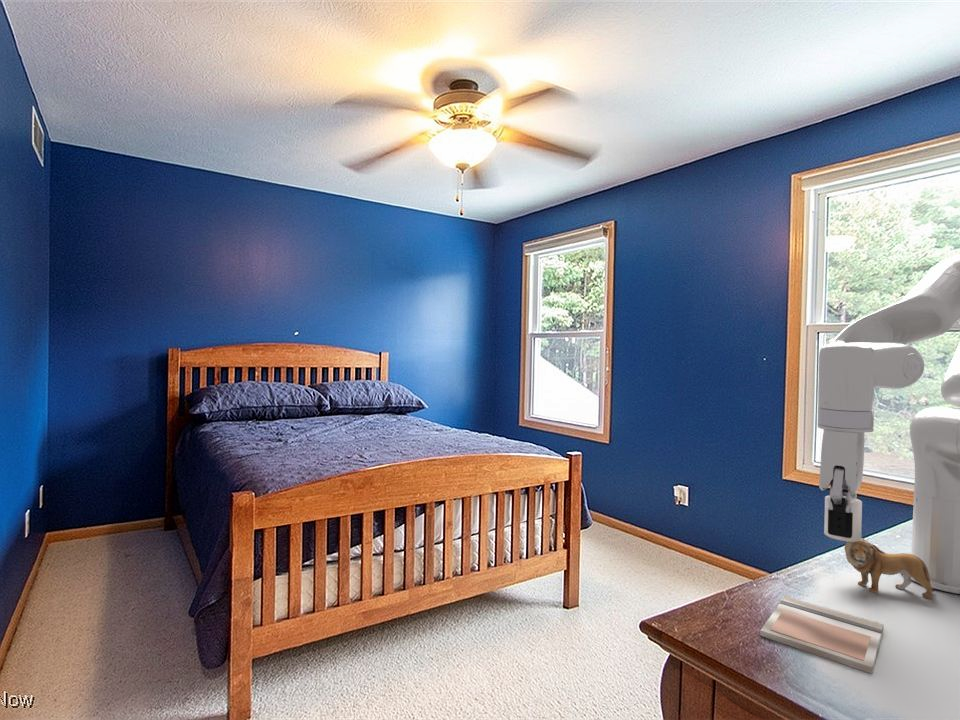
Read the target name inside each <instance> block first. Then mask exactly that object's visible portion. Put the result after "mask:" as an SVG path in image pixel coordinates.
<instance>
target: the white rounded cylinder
mask: <svg viewBox="0 0 960 720" xmlns="http://www.w3.org/2000/svg"><path fill="white" fill-rule="evenodd" d="M846 497H847V496H843V498H845V500H846ZM829 501H830V494H829V495H825V496H824V521H823V522H824V526H823V527H824V529H823V530H824V532H823V534H824V535H825V536H826V537H828V538H830V539H833V540H838V541H843V542H847V541H849V542H857V541H860V540H861V538H862V523H863V521H862V518H863V514H862V513H863V501H862V500H860V499H858V498H857V499H855V498H852V497H851V511H850V512H851V513H853V524H852V537H851V538H845V537H840V536H835V535H830V534H829V533H828V509H829Z"/></svg>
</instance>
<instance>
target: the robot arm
mask: <svg viewBox="0 0 960 720" xmlns="http://www.w3.org/2000/svg"><path fill="white" fill-rule="evenodd" d="M957 322H958V324H959V325H960V255H955V256H952V257H948V258H945V259H943V260H941V261H939V262H938V263H936V265H934V266H933V267H932V268H931V269H930V270H929V271H928V272H927V273H926V274H925V275H924V276H923V277H922V278H921V280H919V281H918V283H917V284H916V285H915V286H914V287H913V288H912V289H911V290H910V291H909V292H908V293H907V294H906V295H905V296H904V297H903V298H902V299H901V300H899V301H897V302H894V303H892V304H889V305H887V306H884V307H883V308H881V309H879V310H877V311H874V312H873V313H870V314H868V315H865V316H863V317H862V318H859V319H858V320H856V321H854V322H852V323H851V324H849V325H848V326H847V327H845V328H844V329H843V330H842V331H841V332H840V333H838V334H837V336H835V338H833V340H832V341H831V342H830V343H829V344H826V345H824V346H822V347H821V348H820V349H819V353H818V354H819V355H818V384H817V385H818V388H817V389H818V393H817V428H818V429H822V430H823V433H822V439H821V440H822V441H821V451H820V468H819V482H818V483H819V484H818V486H819V489H820V490H821V491H826V489H828V488H829V495H830V501H829V509H828V533H829V534H830V535H835V536H840V537H845V538H851V537H852V524H853V513H851V512H850V511H851V497H852V498H855V499H858V498H857V497H858V496H857V495H858V493H857V492H858V490H859V489H860V487H861V485H862V482H863V475H864V464H865V463H864V461H865V434H866V433H873V432H874V429H875V428H874V427H875V426H874V425H875V423H874V421H875V416H874V415H875V388H876V389H889V390H890V389H891V390H892V389H893V390H894V389H895V390H897V389H898V390H899V389H904V388H905V389H906V388H907V387H911V386H912V385H914V384H915V383H917V382H918V381H919V380H920V379H921V378H922V376H923V374H924V370H925V361H924V357H923V355H922V354H921V353H920V352H919V350H918V349H916V348H915V347H913V346H912V345H909V344H913V343H917V342H922V341H925V340H929V339H933V338H936V337H939V336H942V335H944V334H945V333H947V332H949V331H950V330H951V329H952V328H953V327H954V326H955V324H956V323H957ZM940 385H941V386H940V394H941V397H942V398H943V400H944V401H945V402H947V403H948V404H950V405H952V406H953V407H951V406H933V407H927V408H924V409H922V410H920V411H918V412H917V413H916V414H915V415H914V416H913V417H912V419H911V421H910V425H909V436H910V443H911V447H912V454H913V462H914V487H913V488H914V489H913V491H914V492H913V510H912V530H911V553H910V554H912V555H915V556H917V557H919V558H920V559H921V560H922V561H923V562H924V563H925V565H926V567H927V569H928V572H929V577H930V584H931V587H932V588H933V589H934V590H935V589H936V590H939V591H943V592H947V593H952V594H958V595H960V341H959V342H958V345H957V347H956V350H955V352H954V354H953V357H952V359H951V361H950V363H949V364H948V368H947V370H946V372H945V374H944V376H943V379H942V382H941V384H940ZM843 496H847V497H846V500H845V498H843ZM900 574H902V572H901V573H900ZM924 576H925V575H924ZM911 581H913V582H916V583H917V584H919V583H918V582H917V581H915V580H914V579H913V578H912V577H911Z"/></svg>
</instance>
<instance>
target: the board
mask: <svg viewBox="0 0 960 720" xmlns="http://www.w3.org/2000/svg"><path fill="white" fill-rule="evenodd" d="M884 626H885V625H884V623H880V622H876V621H874V620H869V619H866V618H863V617H859V616H856V615H853V614H849V613H845V612H843V611H839V610H835V609H831V608H829V607H826V606H821V605H818V604H815V603H810V602H808V601H804V600H801V599H797V598H793V597H790V596H786V595H784V597H783V598H782V599H781V600H780V602H779V604H778V605H777V607H776V608H775V609H774V611H773V612H772V613H771V615H770V616H769V618H767V620H766V622H765V623H764V624H763V626H762V628H761V629H760V630H759V631H760V633H759V634H760V636H761V637H763V638H766V639H769V640H772V641H775V642H778V643H780V644H784V645H786V646H790V647H793V648H795V649H799V650H802V651H805V652H807V653H810V654H813V655H817V656H819V657H822V658H825V659H828V660H831V661H834V662H836V663H840V664H842V665H846V666H848V667H851V668H854V669H857V670H861V671H863V672H866V673H869V674H873V671H874V667H875V663H876V660H877V655H878V652H879V648H880V644H881V640H882V636H883V633H884Z"/></svg>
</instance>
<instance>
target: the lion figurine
mask: <svg viewBox="0 0 960 720" xmlns="http://www.w3.org/2000/svg"><path fill="white" fill-rule="evenodd" d="M844 551H845V557H846V560H847V562H848V563H849V564H850V565H851V566H852V567H853V569H855V570H856V571H857V572H858V573H860V575H861V576H860V577H861V580H860V581H858V582H857V585H858V586H859V587H866V586H867V585H868V583H869V575H870V577H871V578H870V579H871V586H870V587H869V588H868V591H869V592H871V593H873V594H877V593H879V582H880V578H881V576H882V575H885V576H887V575H888V576H894V575H897V574H902V578H903V582H902V583H897V584H895V588H896V589H899V590H905V589H906V588H907V587H909V585H911V584H912V581H913V580H911V577H912V578H913V579H914V580H915V581H917V582H918V583H917V582H916V583H917V584H919V585H920V586H922V587H923V588H924V589H925V592H922V594H921V596H922V597H924V598H925V599H932V598H933V592H935V588H932V587H931V584H930V577H929V572H928V569H927V567H926V565H925V563H924V562H923V561H922V560H921V559H920V558H919V557H917V556H915V555H912V554H911V553H907V552H903V553H902V552H901V553H887V552H884V551H883V550H881V549H880V548H879V547H878V546H876V545H875V544H872V543H870V542H869V541H868V540H866V539H865V538H862V537H861V540H860V541H857V542H849V541H846V543H845V546H844ZM901 572H902V573H901ZM924 575H925V576H924ZM915 581H914V582H915Z"/></svg>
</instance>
